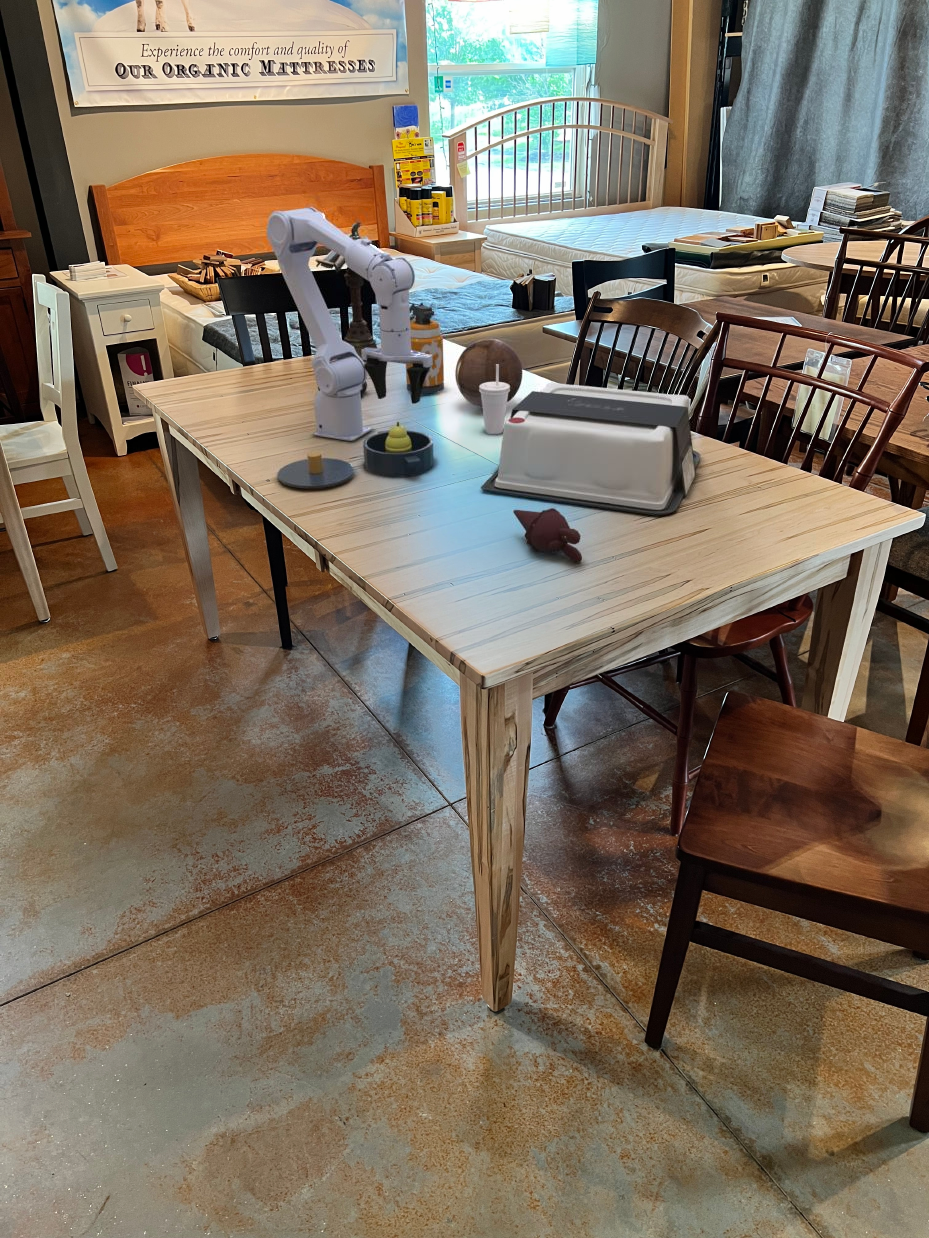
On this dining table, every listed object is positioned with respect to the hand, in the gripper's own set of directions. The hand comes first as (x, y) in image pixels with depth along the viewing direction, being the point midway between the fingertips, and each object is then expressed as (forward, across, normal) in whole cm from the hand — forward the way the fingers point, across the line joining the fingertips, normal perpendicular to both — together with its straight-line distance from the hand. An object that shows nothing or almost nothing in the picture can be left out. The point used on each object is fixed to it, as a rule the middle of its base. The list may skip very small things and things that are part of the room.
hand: (398, 400), depth 170 cm
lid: (+9, -7, -20) cm, 23 cm away
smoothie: (+10, +13, +17) cm, 24 cm away
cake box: (+10, +40, +3) cm, 41 cm away
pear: (+9, +4, -8) cm, 13 cm away
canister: (+10, -15, +38) cm, 42 cm away
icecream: (+10, +43, -31) cm, 54 cm away
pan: (+10, +4, -8) cm, 13 cm away
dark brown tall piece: (+10, -43, +51) cm, 67 cm away
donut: (+10, -31, +27) cm, 42 cm away
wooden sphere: (+10, +5, +32) cm, 34 cm away
